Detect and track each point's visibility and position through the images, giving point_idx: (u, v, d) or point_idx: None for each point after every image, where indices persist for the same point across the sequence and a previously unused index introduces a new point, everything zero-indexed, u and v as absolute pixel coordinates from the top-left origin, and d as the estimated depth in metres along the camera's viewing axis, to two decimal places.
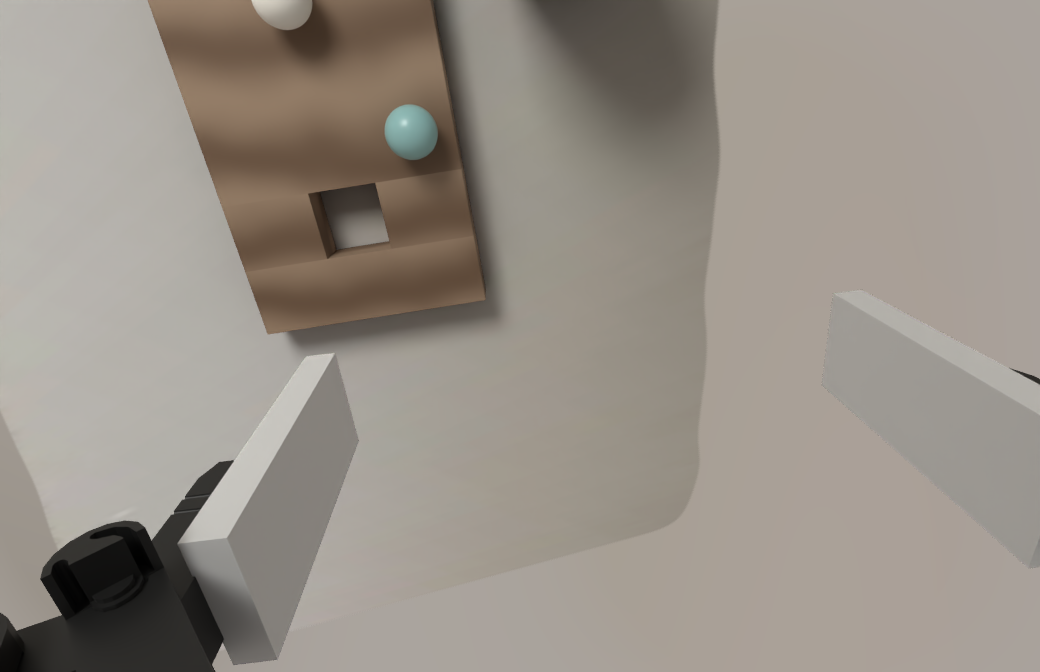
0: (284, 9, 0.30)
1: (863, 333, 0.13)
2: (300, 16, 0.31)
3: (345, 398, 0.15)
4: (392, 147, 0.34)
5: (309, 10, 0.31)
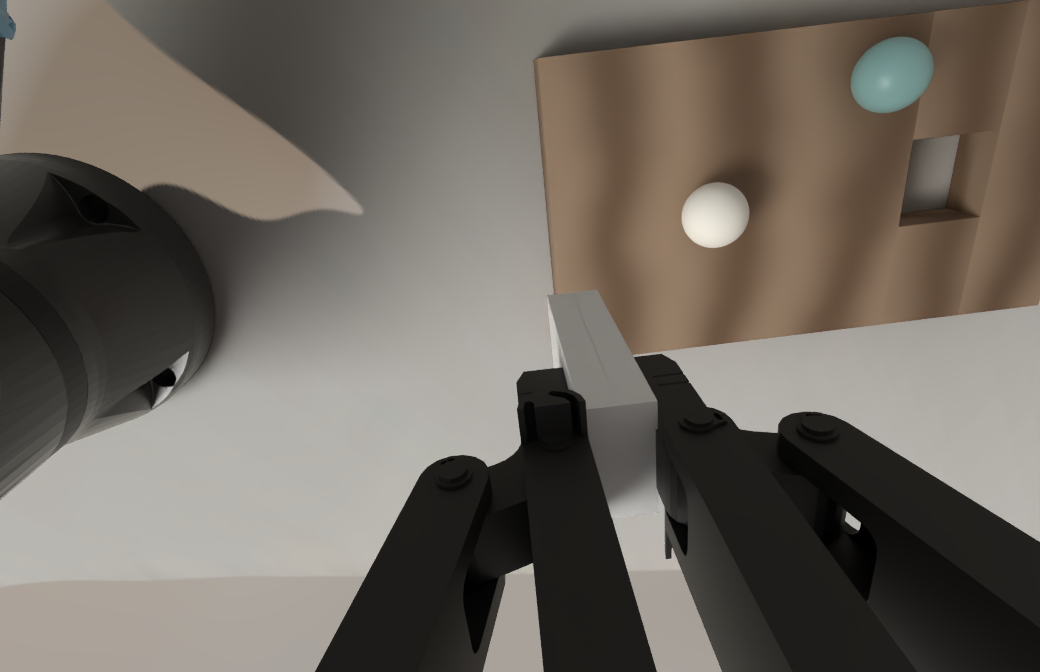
0: (742, 211, 0.27)
1: None
2: (744, 196, 0.27)
3: None
4: (912, 102, 0.26)
5: (733, 186, 0.27)
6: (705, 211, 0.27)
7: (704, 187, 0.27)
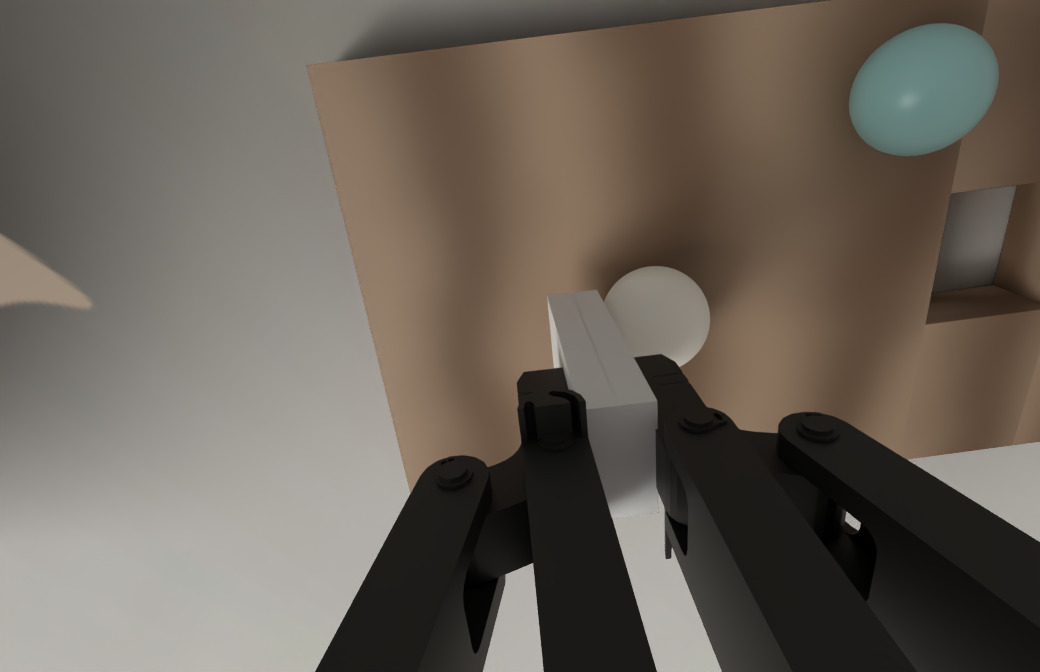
0: (707, 312, 0.16)
1: None
2: (698, 286, 0.17)
3: None
4: None
5: (676, 270, 0.17)
6: (659, 322, 0.15)
7: (640, 279, 0.16)
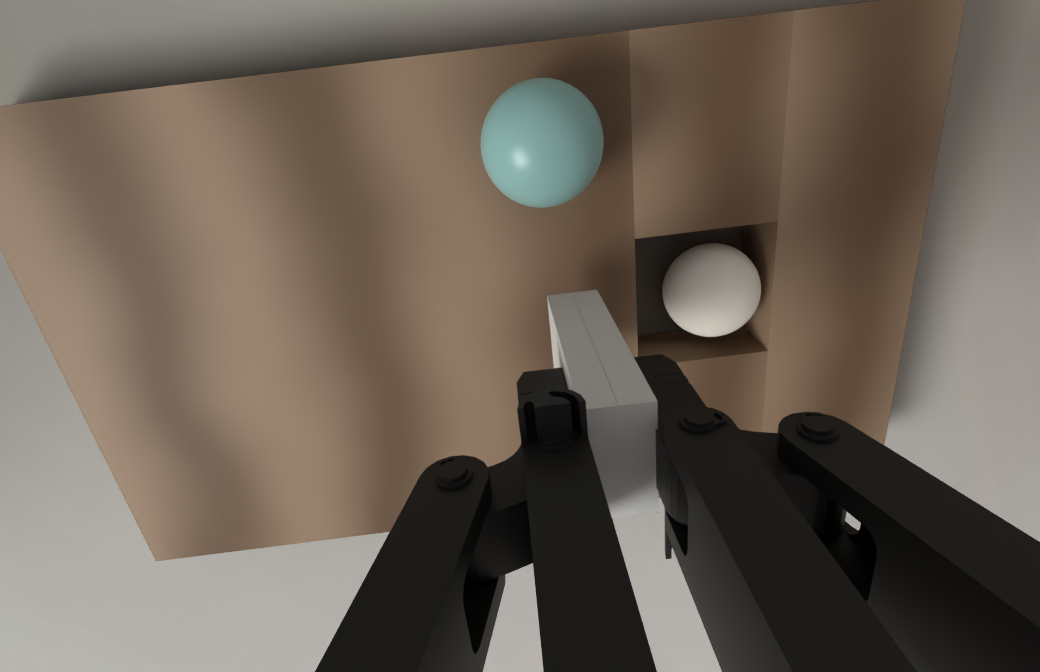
0: None
1: None
2: (673, 261, 0.20)
3: None
4: (573, 193, 0.14)
5: (685, 253, 0.19)
6: None
7: (729, 246, 0.19)
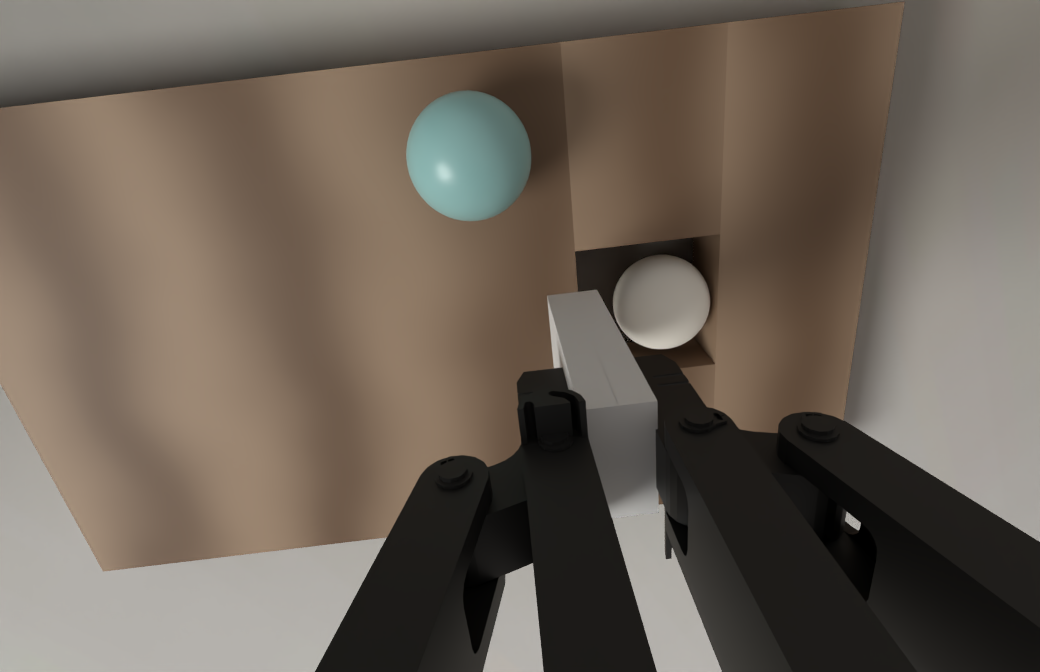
0: None
1: None
2: (622, 274, 0.19)
3: None
4: (499, 207, 0.14)
5: (634, 265, 0.19)
6: None
7: (678, 257, 0.19)
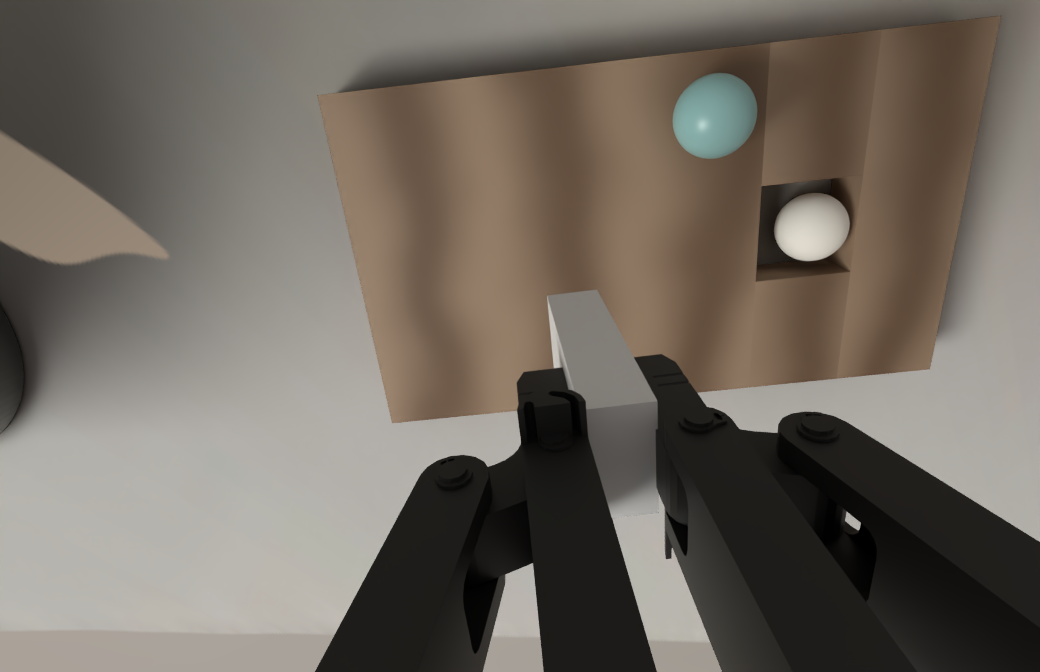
0: None
1: None
2: None
3: None
4: (736, 147, 0.22)
5: (794, 200, 0.27)
6: None
7: (826, 194, 0.26)
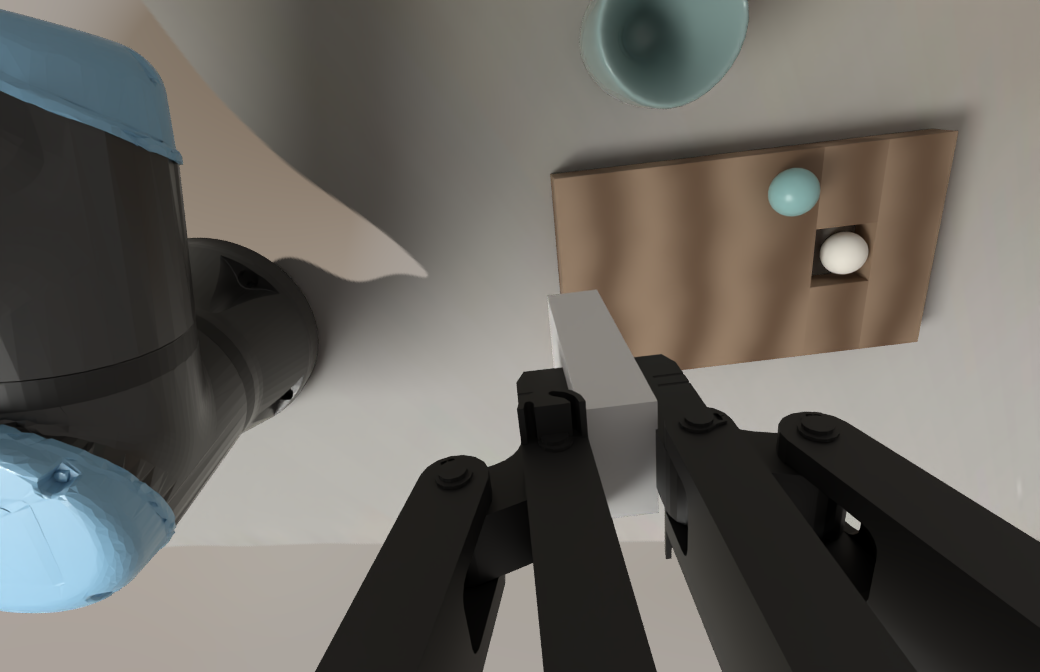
0: None
1: None
2: (825, 240, 0.43)
3: None
4: (807, 211, 0.38)
5: (833, 236, 0.42)
6: None
7: (853, 233, 0.42)
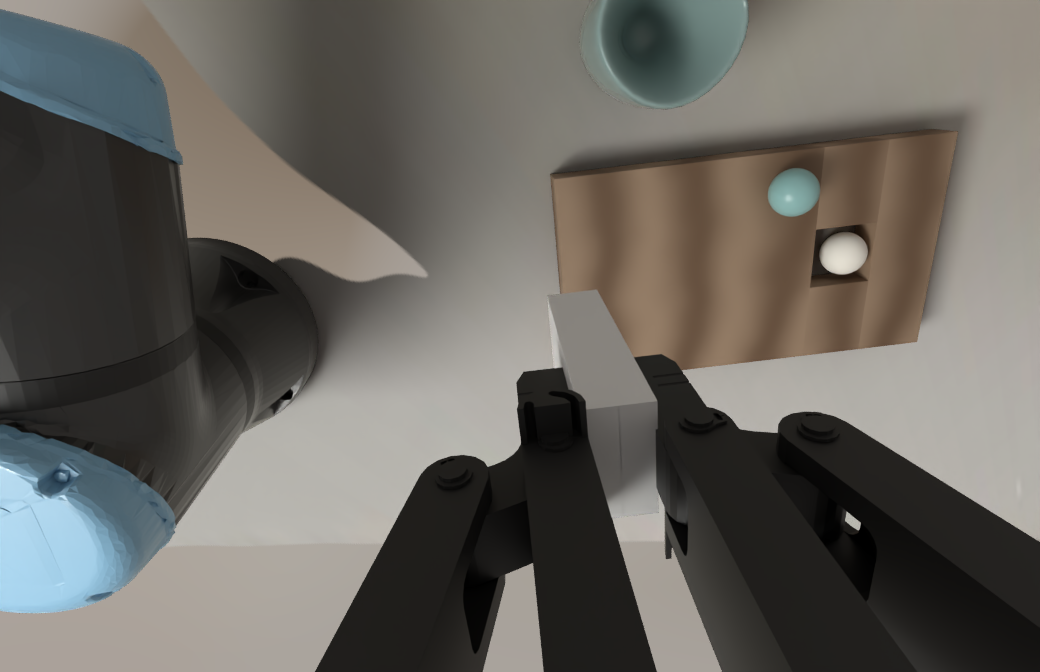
0: None
1: None
2: None
3: None
4: (807, 211, 0.38)
5: (832, 236, 0.42)
6: None
7: (853, 233, 0.42)
